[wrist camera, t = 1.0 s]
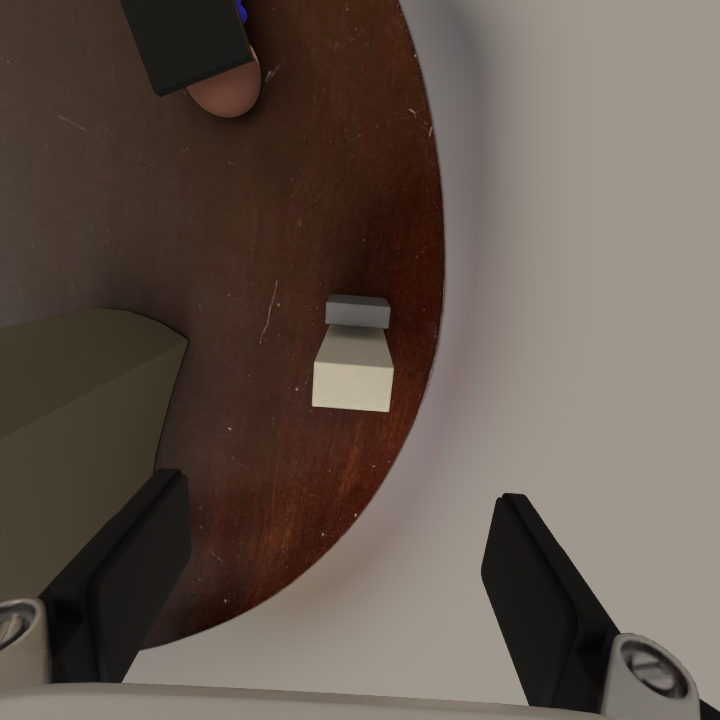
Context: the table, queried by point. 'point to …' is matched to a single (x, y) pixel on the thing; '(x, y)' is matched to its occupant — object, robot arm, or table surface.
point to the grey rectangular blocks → (357, 311)
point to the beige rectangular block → (353, 369)
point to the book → (75, 432)
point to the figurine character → (197, 51)
